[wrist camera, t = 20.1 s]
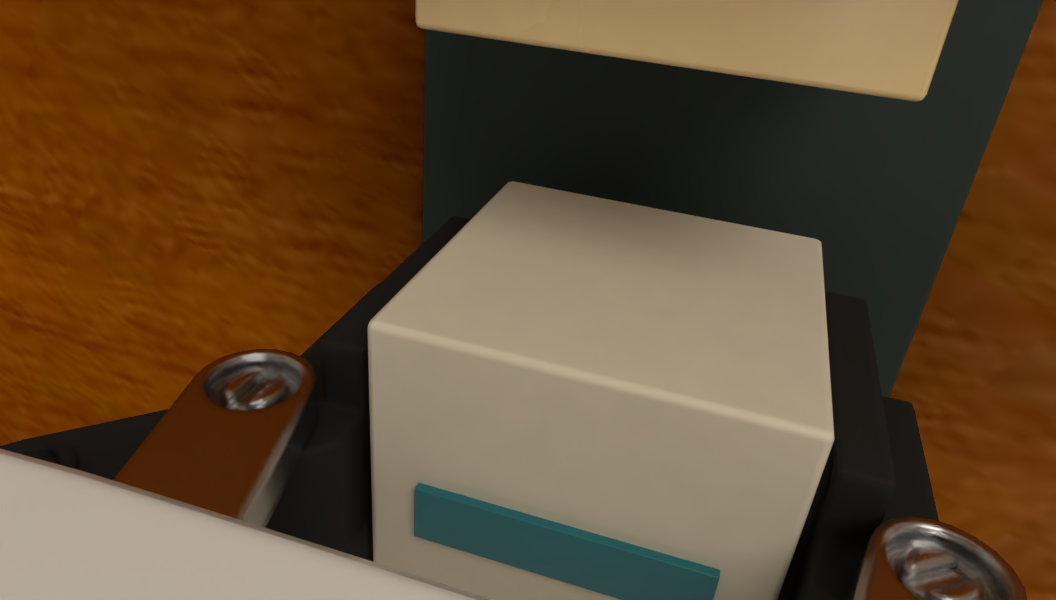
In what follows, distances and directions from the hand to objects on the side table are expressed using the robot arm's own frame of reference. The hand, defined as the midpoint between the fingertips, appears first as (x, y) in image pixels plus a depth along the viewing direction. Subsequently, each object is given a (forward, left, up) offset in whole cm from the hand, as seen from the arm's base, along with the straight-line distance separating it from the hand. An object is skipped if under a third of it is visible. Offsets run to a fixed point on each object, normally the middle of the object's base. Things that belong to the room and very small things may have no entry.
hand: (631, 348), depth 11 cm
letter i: (0, 0, 0) cm, 0 cm away
